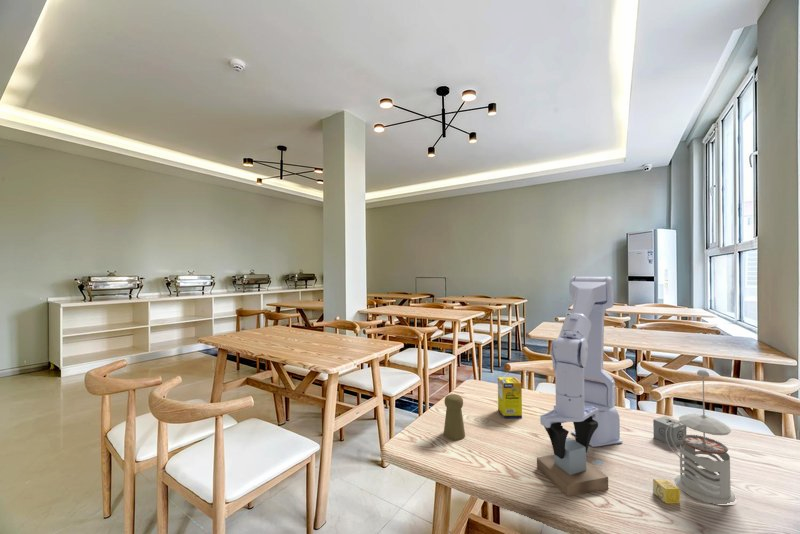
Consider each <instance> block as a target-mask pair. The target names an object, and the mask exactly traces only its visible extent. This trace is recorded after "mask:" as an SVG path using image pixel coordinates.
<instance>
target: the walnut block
mask: <svg viewBox="0 0 800 534" xmlns="http://www.w3.org/2000/svg"><path fill="white" fill-rule="evenodd" d="M536 469H537V470H538V471H540V473H542V474H543V475H544V476H545V477H546V478H547V479H548V480H549V481H550V482H551V483H552V484H554V486H555V487H557V488H558V490H560V492H562V493H563V494H564V495H565V496H566V497H568V498H569V497H572V496H579V495H583V494H588V493H595V492H600V491H604V490H608V489H609V476H608V475H606V474H605V473H604V472H602V471H601V470H599V469H598V468H597V467H595V466H594V465H592V464H591V463H590V462H589V461H587V460H586V469H587V470H585V471H582V472H578V473H575V474H572V475H570V474H568V473H567V472H566V471H564V470H563V469H562V468H560V467H559V466H557V465H556V464H555V463H554V454H551V455H544V456H539V457H536Z"/></svg>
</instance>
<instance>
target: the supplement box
mask: <svg viewBox="0 0 800 534" xmlns="http://www.w3.org/2000/svg"><path fill="white" fill-rule="evenodd" d="M522 385H523V384H522V382H521V381H520V380H519V379H518V378H517V377H516V376H498V377H497V408H498V409H497V410H498V412H499V413H500V415H501V417H502V418H503V419H522V418H523V406H522V405H523V403H522V400H523V397H522V396H523V395H522V391H523V390H522V389H523V388H522V387H523V386H522Z"/></svg>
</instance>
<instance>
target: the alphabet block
mask: <svg viewBox="0 0 800 534" xmlns="http://www.w3.org/2000/svg"><path fill="white" fill-rule="evenodd" d="M652 493H653V494H654V495H656V497H657V498H659V499H660V500H661V501H662V502H663V503H664V504H679V503H680V493H681V489H680V488H679V487H678V486H677V485H676V484H674V483H673V482H671V481H670V480H669V479H667V478H653V480H652Z"/></svg>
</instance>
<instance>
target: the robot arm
mask: <svg viewBox="0 0 800 534" xmlns="http://www.w3.org/2000/svg"><path fill="white" fill-rule="evenodd" d="M568 290H569V295H570V297H571V299H572V300H573V305H572V310H571V313H570V314H567V315H566V316H565V318H564V320H563V323H562V326H561V329H560V332H559V335H558V337H557V338H554V339H553V340H552V342H551V347H550V356H551V361H552V368H553V371H554V372H555V374H554V375H555V378H554V379H555V385H554V386H555V405H553V409H552V410H550V411H548V412H546V413H545V414H544V413H543V414H541V415H540V418H539V419H540V420H539V421H540V423H539V424H540V425H541V426H543V427H544V429H545V431H546V433H547V434H548V435H547V436H548V438H549V440H550V442H551V446H552V450H553V455H554V454H555V455H556V456H558V457H559V458H560V459H563V458H564V455H565V442H566V438H568V435H569V432H570V431H569V430H568V429H566V428H564V427H563V425H562V424H564V423H573V427H574V430H571V434H573V435H574V436H575V441H576V442H578V443H579V444H581V445H583V446H584V447H586V454H587V452H588V449H589V447H590V446H591V447H592V448H593V447H594V448H597V447H602V446H609V445H614V444H615V445H616V444H622V443H623V442H624V441H623V440H622V439H621V433H620V432H621V430H620V428H621V426H620V425H621V424H620V415H619V412H618V410H617V408H616V406H615V405H616V401H617V390H616V381H615V379H614V377H613V376H612V375H610V374H609V373H608V372H607V371H606V370H605V369H604V347H605V346H604V344H605V342H604V341H605V338H604V337H605V336H604V334H605V315H606V310H607V309H611V308H613V307H614V303H615V283H614V279H613V278H612V277H611V275H609V276H577V275H573V276H572V277H571V278H570V279H569V285H568Z"/></svg>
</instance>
